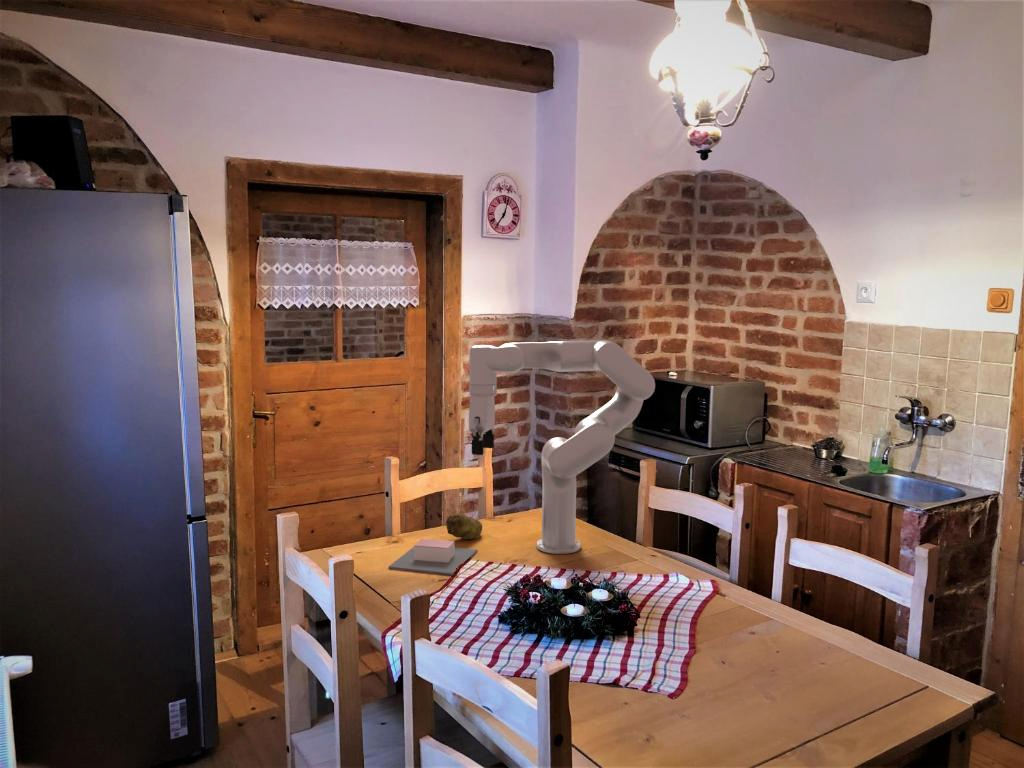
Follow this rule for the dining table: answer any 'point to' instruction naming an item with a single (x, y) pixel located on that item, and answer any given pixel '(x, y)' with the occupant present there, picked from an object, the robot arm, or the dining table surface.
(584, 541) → the dining table surface
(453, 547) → the card box
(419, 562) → the mat
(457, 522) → the olive green lumpy rock
